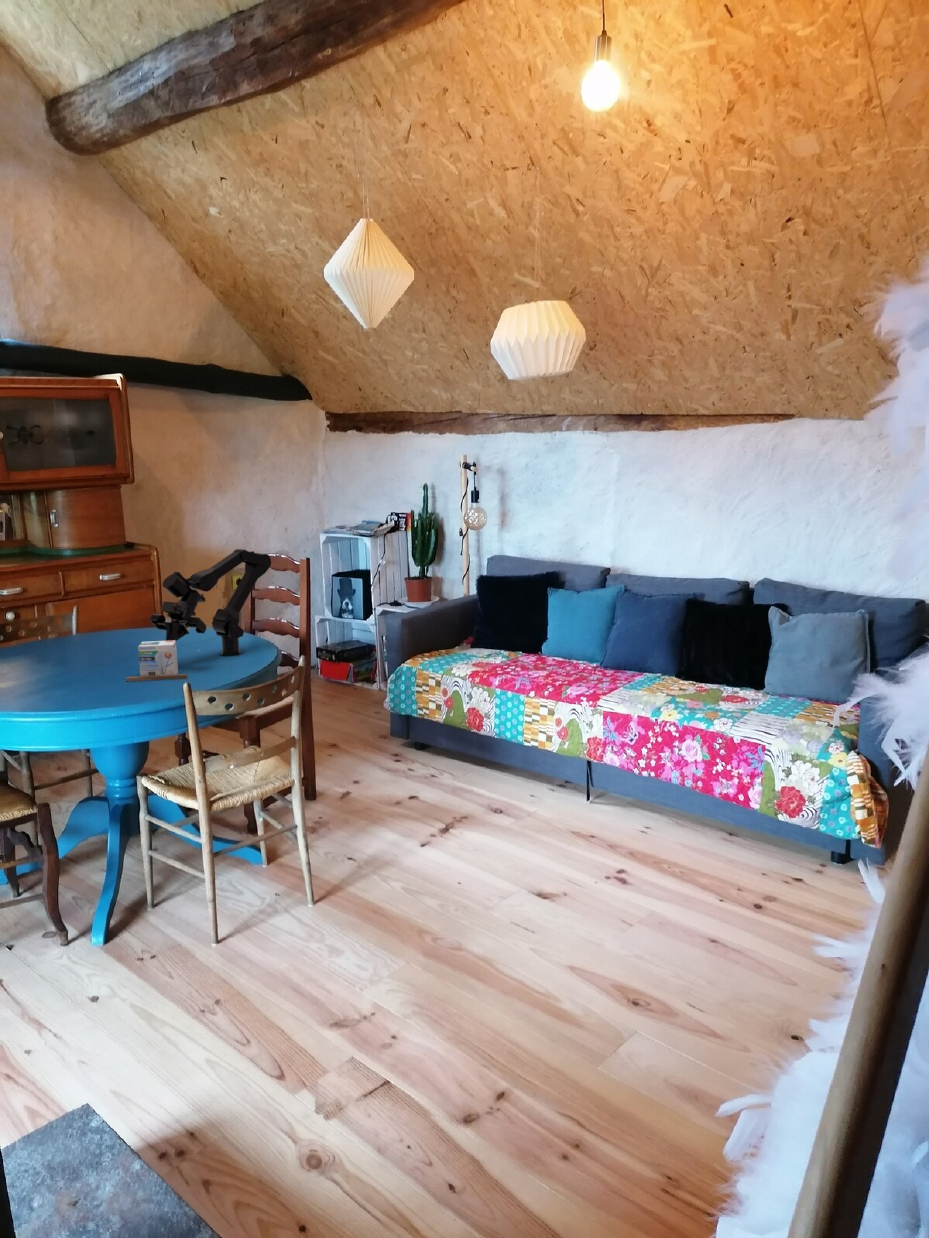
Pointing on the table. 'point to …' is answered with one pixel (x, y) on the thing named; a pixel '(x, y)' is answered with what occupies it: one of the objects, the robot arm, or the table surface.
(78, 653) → the table surface
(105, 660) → the table surface
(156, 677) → the ledge strip
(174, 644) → the light bulb box
